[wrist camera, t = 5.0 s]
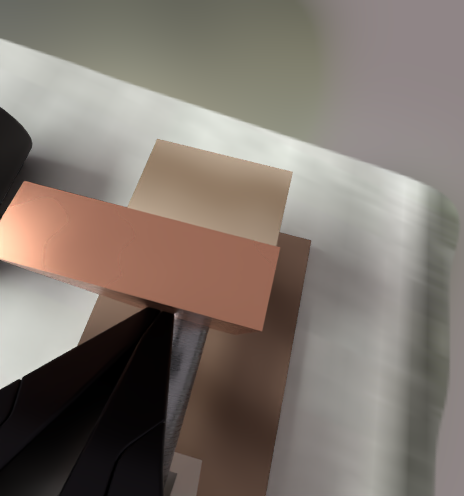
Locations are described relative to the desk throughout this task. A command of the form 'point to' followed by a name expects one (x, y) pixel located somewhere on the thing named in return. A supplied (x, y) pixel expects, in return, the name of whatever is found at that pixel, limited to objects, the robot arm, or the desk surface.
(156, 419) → the robot arm
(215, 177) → the socket block
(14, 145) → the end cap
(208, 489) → the base board
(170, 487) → the white rectangular block
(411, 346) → the desk surface
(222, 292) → the brushed copper slab
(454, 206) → the desk surface
